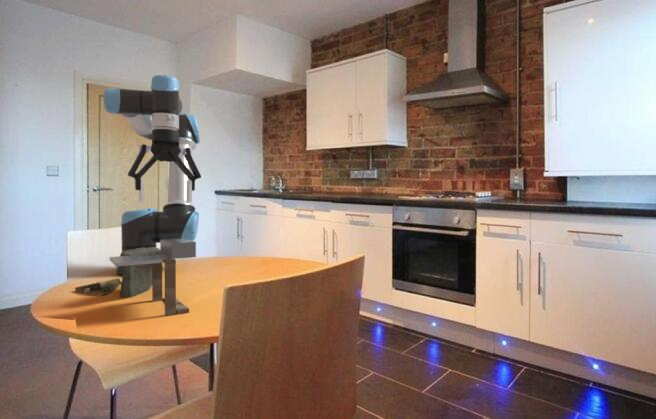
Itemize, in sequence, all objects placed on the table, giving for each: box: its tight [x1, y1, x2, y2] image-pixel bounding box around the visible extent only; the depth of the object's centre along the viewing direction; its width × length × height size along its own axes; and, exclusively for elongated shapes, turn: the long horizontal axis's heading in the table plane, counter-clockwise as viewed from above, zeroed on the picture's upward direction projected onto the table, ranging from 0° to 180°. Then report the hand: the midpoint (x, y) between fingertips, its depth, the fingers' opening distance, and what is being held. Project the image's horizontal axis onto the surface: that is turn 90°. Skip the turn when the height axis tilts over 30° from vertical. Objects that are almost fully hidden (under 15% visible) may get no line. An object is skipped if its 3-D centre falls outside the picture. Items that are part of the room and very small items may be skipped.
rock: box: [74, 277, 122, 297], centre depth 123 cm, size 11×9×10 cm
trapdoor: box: [109, 239, 197, 267], centre depth 106 cm, size 13×19×5 cm
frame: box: [151, 253, 190, 317], centre depth 109 cm, size 16×6×14 cm, turn 34°
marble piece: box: [119, 246, 160, 299], centre depth 121 cm, size 17×15×4 cm
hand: (166, 201), depth 120 cm, fingers open, 13 cm apart
